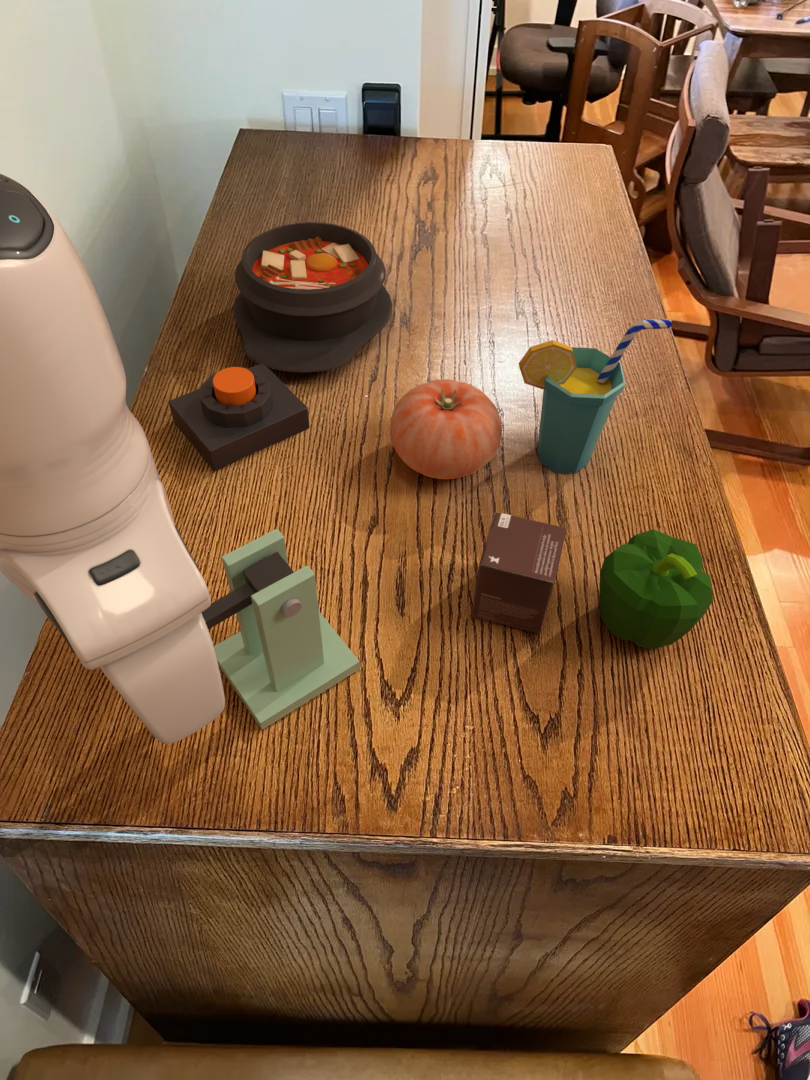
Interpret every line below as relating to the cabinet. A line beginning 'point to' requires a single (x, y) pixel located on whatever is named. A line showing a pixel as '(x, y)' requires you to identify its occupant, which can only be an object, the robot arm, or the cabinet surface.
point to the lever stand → (280, 639)
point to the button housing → (239, 419)
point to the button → (234, 386)
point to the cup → (576, 395)
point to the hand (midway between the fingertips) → (141, 651)
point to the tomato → (445, 429)
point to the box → (517, 571)
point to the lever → (247, 589)
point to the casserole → (309, 296)
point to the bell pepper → (653, 589)
